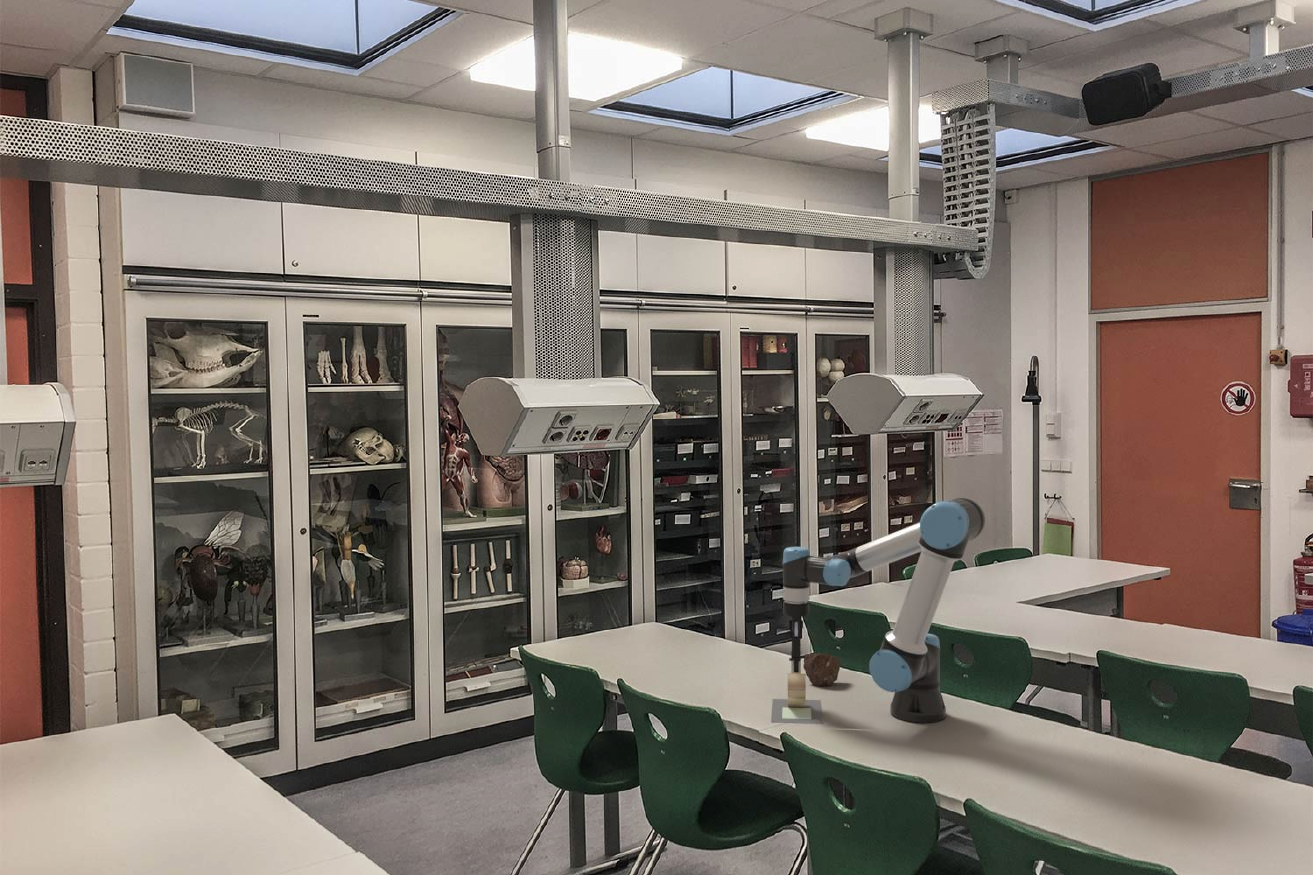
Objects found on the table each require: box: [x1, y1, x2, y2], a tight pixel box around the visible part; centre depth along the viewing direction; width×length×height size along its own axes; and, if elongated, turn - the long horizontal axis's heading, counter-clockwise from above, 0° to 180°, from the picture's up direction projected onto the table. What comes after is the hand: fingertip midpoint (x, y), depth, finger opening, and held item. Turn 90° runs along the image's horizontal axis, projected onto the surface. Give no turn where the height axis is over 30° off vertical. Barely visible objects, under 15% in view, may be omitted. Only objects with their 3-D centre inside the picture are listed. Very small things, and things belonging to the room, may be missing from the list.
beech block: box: [787, 673, 807, 707], centre depth 295 cm, size 5×5×10 cm
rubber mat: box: [770, 698, 824, 725], centre depth 294 cm, size 22×14×1 cm, turn 173°
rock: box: [802, 653, 842, 687], centre depth 320 cm, size 12×10×10 cm
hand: (796, 682), depth 299 cm, fingers closed
